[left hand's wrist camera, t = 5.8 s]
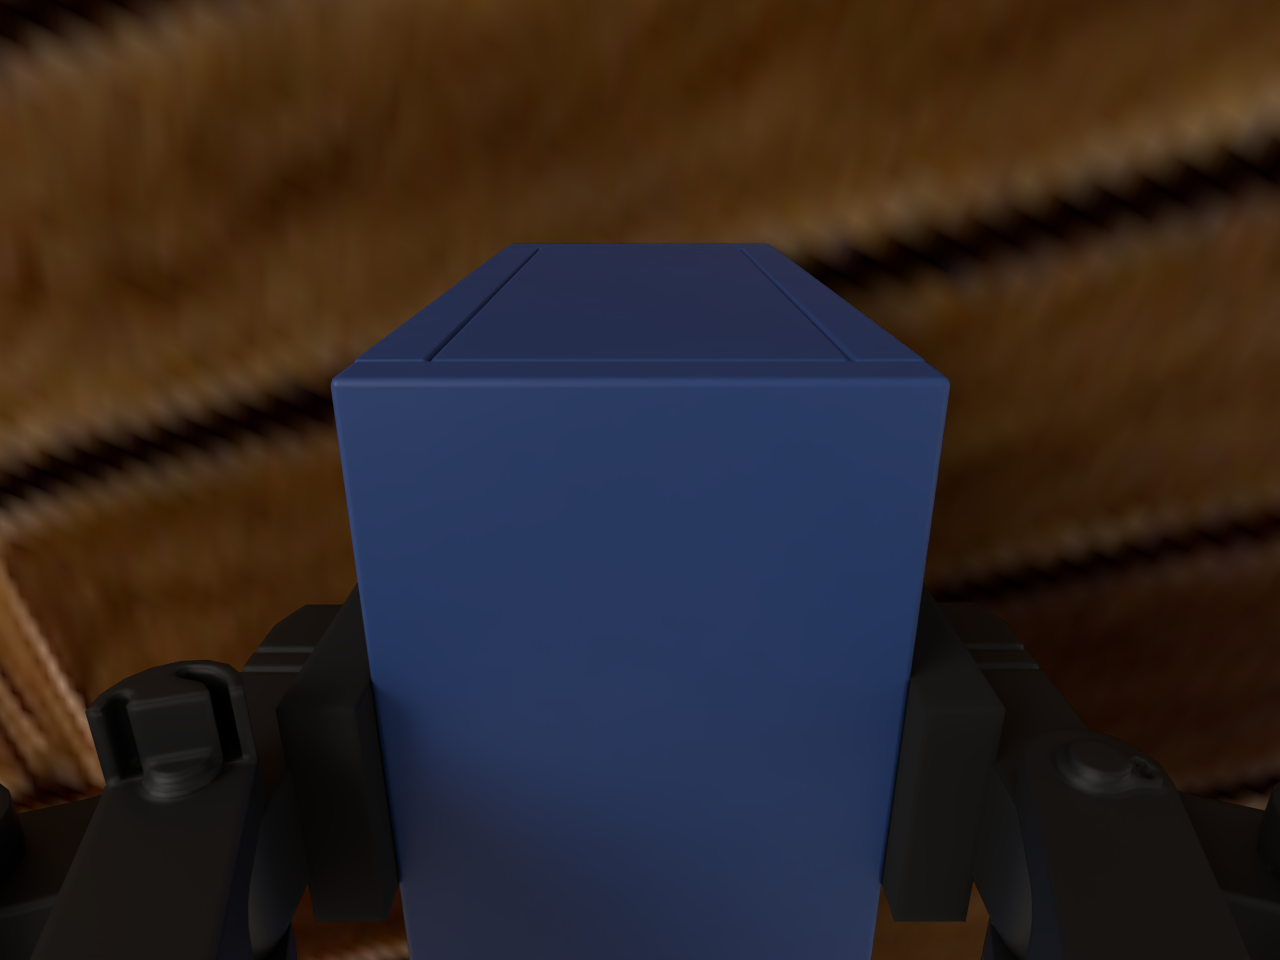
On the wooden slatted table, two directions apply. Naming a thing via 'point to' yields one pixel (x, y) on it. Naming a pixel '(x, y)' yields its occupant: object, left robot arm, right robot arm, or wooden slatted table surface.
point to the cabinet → (640, 602)
